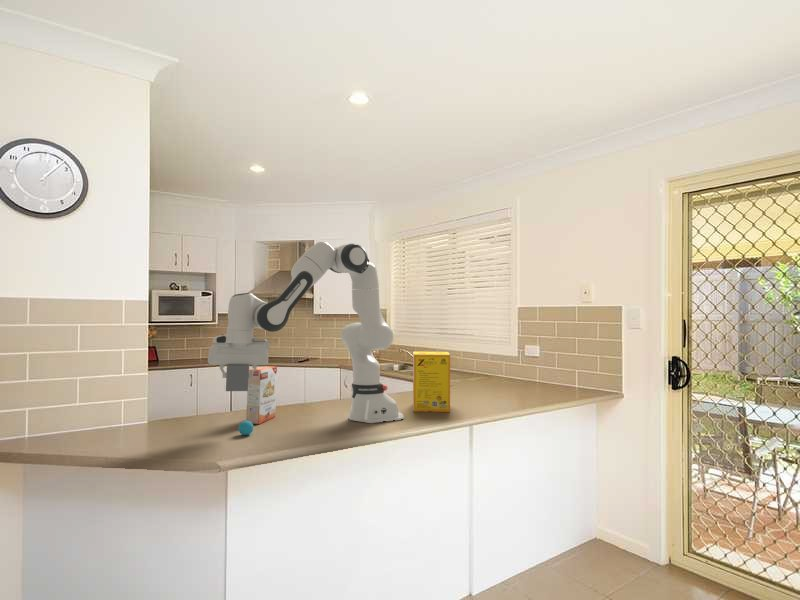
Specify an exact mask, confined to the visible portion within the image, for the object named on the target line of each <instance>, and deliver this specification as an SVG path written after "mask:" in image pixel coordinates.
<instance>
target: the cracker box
mask: <svg viewBox="0 0 800 600" xmlns="http://www.w3.org/2000/svg"><path fill="white" fill-rule="evenodd" d="M253 369H254V368H249V373H250V372H252V370H253ZM277 373H278V367H277V366H269V365H268V366H267V365H263V366H259V367H257V368H256V370H255V371H254V373H253V378H249V387H248V391H246V418H245V421H250V422H251V423H252V424H253V425H261V424H262V423H264V422H265V423H266V422H267V421H269V420H272V419H274V418H276V414H277V413H276V411H277V410H276V408H277V407H276V406H277V379H278V377H277V375H278V374H277Z"/></svg>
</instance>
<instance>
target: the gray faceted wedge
mask: <svg viewBox="0 0 800 600" xmlns="http://www.w3.org/2000/svg"><path fill="white" fill-rule="evenodd" d="M249 370H250V365H226V372H227V375H226V378H225V379H226V381H225V392H247V391H248V387H249Z"/></svg>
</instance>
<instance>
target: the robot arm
mask: <svg viewBox="0 0 800 600" xmlns="http://www.w3.org/2000/svg"><path fill="white" fill-rule="evenodd" d="M328 270H330V271H332V272H333V273H337V274H345V273H346V274H347V273H348V275H349V276H350V278H351V296H352V297H351V298H352V299H351V302H352V306H351V307H352V309H353V311H354V312H355V313H357V316H358V317H359V320H360V322H351V323H349V324H347V325H345V326H344V327H343V329H342V331H341V336H340V337H341V341H342V343H343V344H344V345H345V346H346V348H347V350H348V352H349V355H350V359H351V362H352V363H351V364H352V383H351V391H350V392H351V394H350V395H351V403H350V404H351V406H350V410H349V415H348V420H349V421H354V422H362V423H367V424H375V423H383V421H386V422H392V421H393V420H395V421H402V420H401V419H403V420H404V418H405V416H404V414H403V413H402V412H400V411H399V406H398V404H397V402H396V400H395V399H393V398H392V397H391V396H390V395H388V394H387V393H386V392H385V391H387V390H388V386H387V385H386V384H383V383H381V365H380V362H379V361H378V360H377V359H376V358H375V355H374V354H373V351H380V350H381V351H383V350H386V349H388V348H390V346H391V345H392V344H393V341H394V332H393V330H392V328H391V327H390V326H389V325H388V323H387V322H386V320H385V318H384V317H383V314H382V311H381V304H380V288H379V287H380V286H379V284H380V283H379V276H378V271H377V267H376V266H375V264H374V263H372V262H370V259H369V257H368V253H367V251H366V249H365V247H364V246H362V245H361V244H358V243H347V244H346V243H345V244H343V245H339V246H336V247H333V246H332V245H331V244H329V243H328V242H326V241H318V242H316V243H315V244H313V245H311V247H309V248H308V249H307V250H306V251H304V252H303V254H302V255H301V256H300V257H299V258H298V259H297V260H296V262H294V265H293V266H292V268H291V270H290V274H291V275H290V276H291V280H290V282H289V284H288V286H287V287H286V288H285V289H284V290H283V291H282V292H281V293H280V294H279V296H278V297H277V298H276V299H275V300H273V301H270V302H266V301H264V300H261V299H260V298H259V297H257V296H255V294H254V293H252V292H242V293H237V294H234V295H232V296H231V297H230V299H229V303H228V309H227V320H228V321H227V322H228V325H227V327H226V333H223V334H222V333H221V335H216V336H214V337H213V338H212V343H213V344H212V345H211V346H210V348H209V349H208V350H209V351H208V356H207V363H208V364H209V365H211V366H212V365H213V366H217V365H219V370H220V371H221V374H222V379H226V375H227V371H225V370H224V368H225V366H227V365H249V366H252V367H251V369H253V370H252V372H250V373H249V378H253V373H254V371H255V370H256V368H258V367H257V366H267V365H268V364H269V351H270V349H271V343H270V341H269V340H267V339H266V338H254V328H257V329H259V330H265V331H267V332H272V333H273V332H278V331H280V330H282V329H284V328H285V326H286V324H287V323H288V320H289V317H290V314H291V312H292V310H293V309H294V307H295V306H296V305H297V304H298V302H300V300H301V299H302V297H303V296H304V295H305V294H306V293H307V292H308V290H310V289H311V288H312V287H313V286H314V285H315V284H317V282H318V281H319V280H320V279H321V278H322V277H323V276H324V275H325V274H326V272H327V271H328ZM393 422H394V421H393Z"/></svg>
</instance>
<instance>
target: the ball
mask: <svg viewBox="0 0 800 600" xmlns="http://www.w3.org/2000/svg"><path fill="white" fill-rule="evenodd" d="M253 431H254V424H252V423H251V422H250V421H246V420H243V421H241V422H240V423H239V425H238V432H239V434H241V436H249V435H250V434H252V433H253Z"/></svg>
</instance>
